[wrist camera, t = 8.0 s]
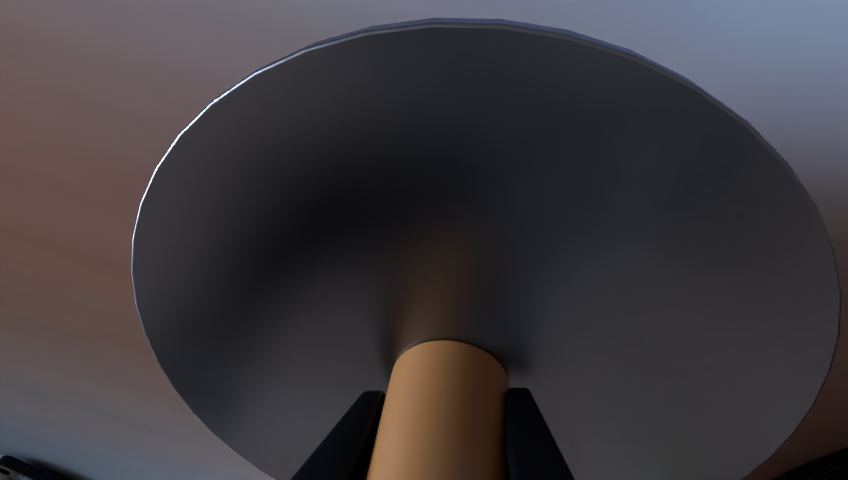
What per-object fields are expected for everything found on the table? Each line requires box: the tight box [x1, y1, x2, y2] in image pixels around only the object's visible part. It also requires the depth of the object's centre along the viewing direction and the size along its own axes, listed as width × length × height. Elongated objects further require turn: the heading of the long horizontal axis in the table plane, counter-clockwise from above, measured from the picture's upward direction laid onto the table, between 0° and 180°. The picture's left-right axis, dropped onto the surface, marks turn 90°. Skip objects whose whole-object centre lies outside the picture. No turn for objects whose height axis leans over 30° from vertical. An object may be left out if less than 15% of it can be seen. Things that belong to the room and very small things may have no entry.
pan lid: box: [131, 18, 842, 480], centre depth 8 cm, size 13×13×5 cm
